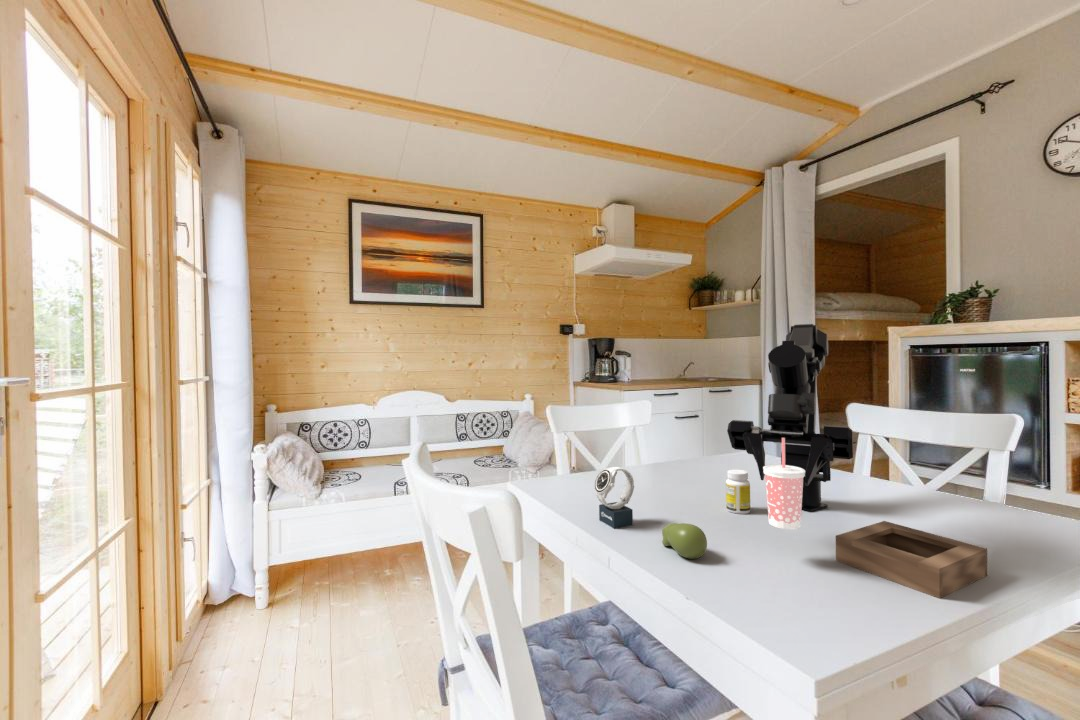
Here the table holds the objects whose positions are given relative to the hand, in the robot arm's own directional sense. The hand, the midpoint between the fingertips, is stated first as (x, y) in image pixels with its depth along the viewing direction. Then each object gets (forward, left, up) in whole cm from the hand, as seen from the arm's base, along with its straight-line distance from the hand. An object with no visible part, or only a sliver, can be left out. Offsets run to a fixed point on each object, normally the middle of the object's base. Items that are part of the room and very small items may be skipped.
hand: (783, 481), depth 78 cm
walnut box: (-14, +11, -13) cm, 22 cm away
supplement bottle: (-14, -21, -13) cm, 29 cm away
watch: (+13, -28, -13) cm, 34 cm away
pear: (+11, -11, -13) cm, 21 cm away
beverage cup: (0, 0, -7) cm, 7 cm away
